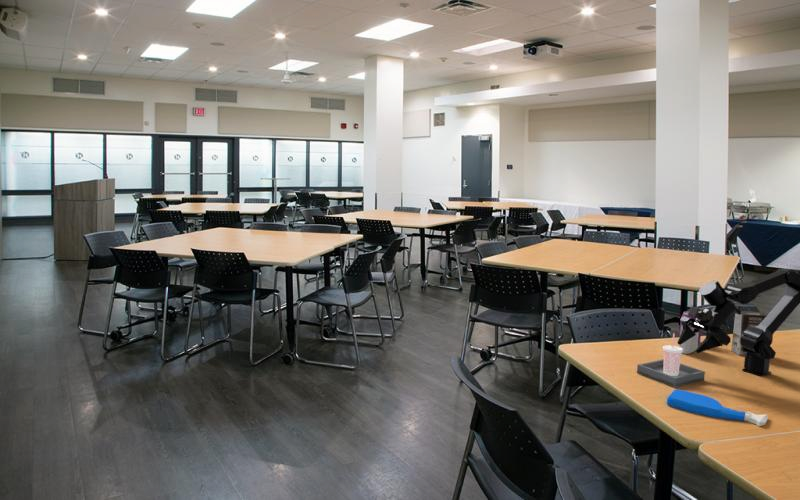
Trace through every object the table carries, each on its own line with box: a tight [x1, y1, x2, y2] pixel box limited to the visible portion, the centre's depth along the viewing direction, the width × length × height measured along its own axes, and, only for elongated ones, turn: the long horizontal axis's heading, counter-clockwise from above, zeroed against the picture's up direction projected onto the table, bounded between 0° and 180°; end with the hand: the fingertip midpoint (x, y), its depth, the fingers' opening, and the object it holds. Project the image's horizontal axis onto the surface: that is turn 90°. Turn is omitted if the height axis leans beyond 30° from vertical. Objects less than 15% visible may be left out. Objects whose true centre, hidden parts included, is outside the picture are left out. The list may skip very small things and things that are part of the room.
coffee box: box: [730, 310, 768, 357], centre depth 212 cm, size 9×6×16 cm
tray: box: [636, 358, 706, 388], centre depth 187 cm, size 15×15×3 cm
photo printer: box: [678, 320, 699, 355], centre depth 215 cm, size 10×4×12 cm, turn 134°
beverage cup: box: [662, 332, 683, 376], centre depth 186 cm, size 6×6×14 cm
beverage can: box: [679, 311, 702, 344], centre depth 227 cm, size 8×8×12 cm
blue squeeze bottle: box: [666, 388, 769, 427], centre depth 159 cm, size 3×11×24 cm
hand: (687, 347), depth 187 cm, fingers open, 9 cm apart
